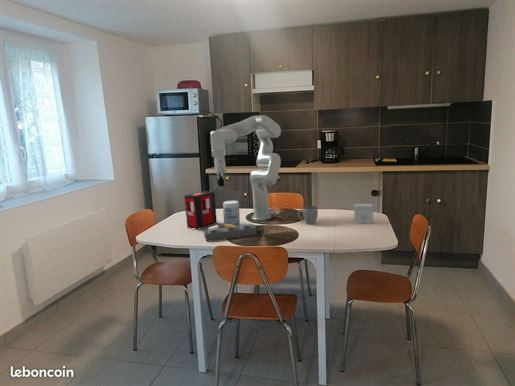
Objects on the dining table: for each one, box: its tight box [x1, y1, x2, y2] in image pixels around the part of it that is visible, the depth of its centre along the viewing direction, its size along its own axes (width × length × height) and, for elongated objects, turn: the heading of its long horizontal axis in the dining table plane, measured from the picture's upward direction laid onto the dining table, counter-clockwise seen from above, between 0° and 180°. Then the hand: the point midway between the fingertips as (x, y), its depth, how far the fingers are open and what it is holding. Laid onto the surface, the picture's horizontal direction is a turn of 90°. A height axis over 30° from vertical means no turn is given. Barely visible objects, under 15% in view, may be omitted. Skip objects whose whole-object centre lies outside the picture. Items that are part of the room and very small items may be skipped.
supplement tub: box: [222, 200, 241, 227], centre depth 232 cm, size 10×10×15 cm
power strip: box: [203, 223, 265, 242], centre depth 213 cm, size 33×8×5 cm, turn 105°
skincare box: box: [353, 203, 374, 225], centre depth 225 cm, size 10×6×10 cm, turn 76°
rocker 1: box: [207, 224, 220, 231], centre depth 210 cm, size 5×4×1 cm
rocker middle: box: [224, 224, 236, 229], centre depth 212 cm, size 5×4×1 cm
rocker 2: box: [240, 221, 252, 226], centre depth 214 cm, size 5×4×1 cm
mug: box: [297, 205, 319, 226], centre depth 229 cm, size 12×9×10 cm
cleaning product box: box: [184, 190, 218, 230], centre depth 236 cm, size 16×9×20 cm, turn 143°
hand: (221, 186), depth 216 cm, fingers closed
